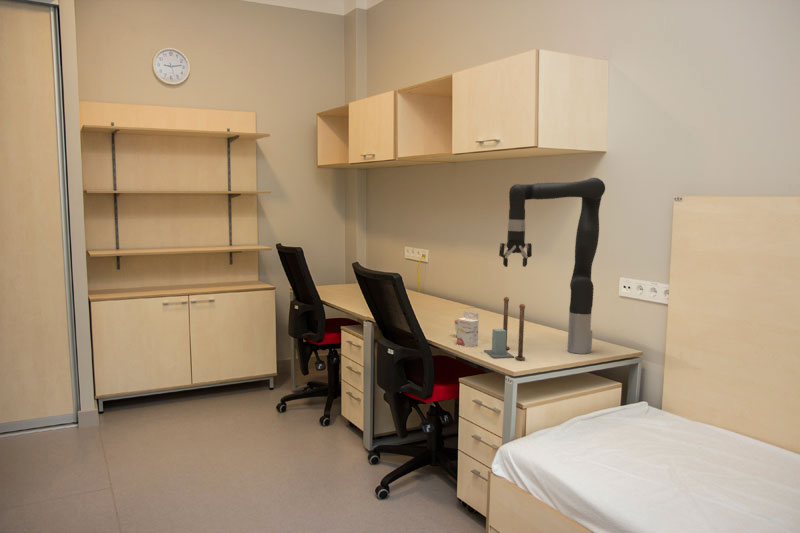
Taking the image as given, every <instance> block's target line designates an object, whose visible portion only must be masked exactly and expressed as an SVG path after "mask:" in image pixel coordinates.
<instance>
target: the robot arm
mask: <svg viewBox="0 0 800 533" xmlns="http://www.w3.org/2000/svg"><path fill="white" fill-rule="evenodd" d="M605 192H606V184H605V182H604V181H603V180H602V179H600V178H598V177H590V178H588V179H583V180H579V181H573V182H572V181H571V182H569V181H568V182H540V183H539V182H537V183H533V184H527V183H526V184H525V183H524V184H521V183H515V184H513V185H512V186H511V187H510V189H509V192H508V193H509V195H508V198H509V209H508V210H509V211H508V223H507V241H506V243H503V242H500V244H499V253H498V256H499V257H500V258H501V257H502V258H503V259H502V260H503V261H502V262H503V263H502V264H503V267H505V268H506V267H507V268H508V266H509V265H508V262H509V256H510V255H511V254H520V255H521V256H522V257H523V258H522V267H524V268H525V267H526V266H527V265H528V258H531V257H532V256H533V255H532V254H533V253H532V251H533V249H532V246H533V244H532V243H529V242H527V243H526V241H525V240H526V209H525V208H526V207H525V206H526V205H525V204H526V201H529V200H555V199H562V198H581V210H580V214H579V219H578V223H577V228H576V233H575V234H576V236H575V247H574V267H573V272H572V276H571V278H570V279H571V280H570V283H569V287H570V300H569V310H568V311H569V312H568V313H569V314H568V332H567V352H569V353H572V354H579V355H581V354H582V355H584V354H585V355H586V354H590V353H592V348H593V347H592V345H593V331H592V330H591V326H592V310H593V305H594V304H593V303H594V284H593V282H592V268H593V264H594V263H593V262H594V259H595V256H596V252H597V248H598V244H599V237H600V206H601V201H602V197H603V195H605ZM506 248H507V249H506ZM525 248H526V251H525ZM505 249H506V251H505Z"/></svg>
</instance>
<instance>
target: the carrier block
mask: <svg viewBox="0 0 800 533" xmlns="http://www.w3.org/2000/svg"><path fill="white" fill-rule="evenodd" d="M491 339H492V340H491V350H492V353H494V354H495V355H500V354H506V351H507V350H506V330H504V329H503V328H492V338H491Z"/></svg>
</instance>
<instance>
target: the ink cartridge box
mask: <svg viewBox="0 0 800 533" xmlns="http://www.w3.org/2000/svg"><path fill="white" fill-rule="evenodd" d="M457 319H458V329H457V333H456V344H457V345H461V346H466V347H470V348H472V347H476V346H478V342H479V313H478V312H473V311H465V310H464V311H463V317H460V318H457Z"/></svg>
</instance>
